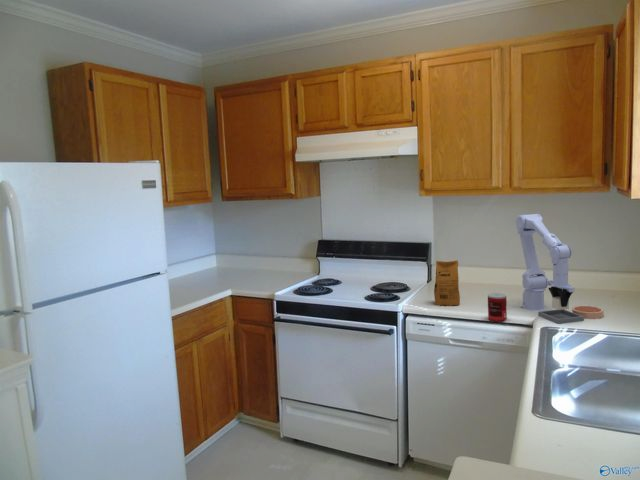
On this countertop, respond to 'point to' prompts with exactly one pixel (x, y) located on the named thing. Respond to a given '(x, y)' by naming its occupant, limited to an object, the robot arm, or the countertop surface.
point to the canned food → (497, 307)
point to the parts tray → (561, 316)
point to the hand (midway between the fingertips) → (560, 305)
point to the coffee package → (447, 283)
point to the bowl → (588, 312)
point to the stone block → (558, 303)
